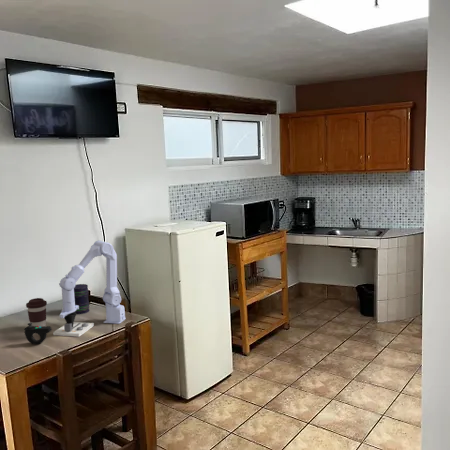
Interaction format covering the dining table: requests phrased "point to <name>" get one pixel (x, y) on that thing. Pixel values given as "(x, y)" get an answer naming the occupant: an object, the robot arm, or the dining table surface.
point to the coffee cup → (37, 311)
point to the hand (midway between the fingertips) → (70, 327)
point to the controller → (38, 330)
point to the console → (74, 329)
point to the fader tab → (68, 327)
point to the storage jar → (81, 298)
